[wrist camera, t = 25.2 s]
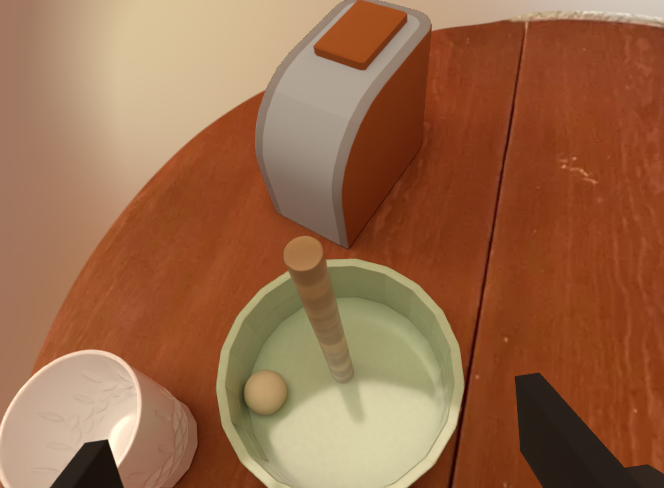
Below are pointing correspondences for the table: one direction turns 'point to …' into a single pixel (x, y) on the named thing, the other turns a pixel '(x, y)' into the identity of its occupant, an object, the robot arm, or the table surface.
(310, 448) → the bowl
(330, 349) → the stick
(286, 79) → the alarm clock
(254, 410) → the dough ball
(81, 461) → the robot arm
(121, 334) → the table surface
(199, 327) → the table surface
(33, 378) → the white cup
